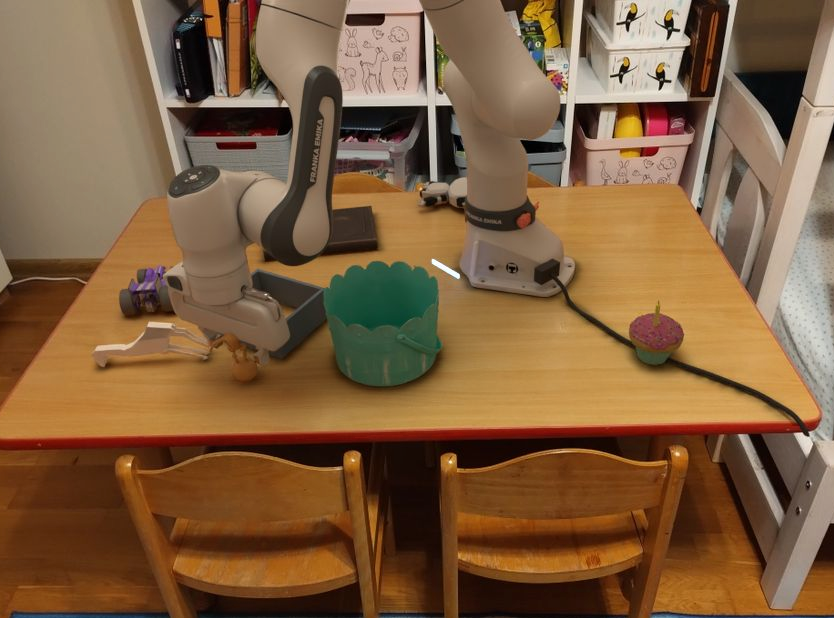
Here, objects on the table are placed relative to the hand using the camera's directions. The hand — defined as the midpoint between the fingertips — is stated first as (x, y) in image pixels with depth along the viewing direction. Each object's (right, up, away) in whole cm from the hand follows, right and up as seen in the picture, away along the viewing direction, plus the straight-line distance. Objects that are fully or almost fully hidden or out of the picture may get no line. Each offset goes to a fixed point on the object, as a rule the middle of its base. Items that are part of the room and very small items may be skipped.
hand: (239, 353), depth 112 cm
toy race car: (-22, +11, +25) cm, 35 cm away
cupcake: (+66, 0, +5) cm, 66 cm away
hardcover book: (+7, +24, +40) cm, 48 cm away
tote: (+2, +5, +15) cm, 16 cm away
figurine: (0, -5, +3) cm, 6 cm away
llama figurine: (-16, -1, +9) cm, 18 cm away
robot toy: (+35, +34, +51) cm, 70 cm away
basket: (+23, 0, +8) cm, 24 cm away
